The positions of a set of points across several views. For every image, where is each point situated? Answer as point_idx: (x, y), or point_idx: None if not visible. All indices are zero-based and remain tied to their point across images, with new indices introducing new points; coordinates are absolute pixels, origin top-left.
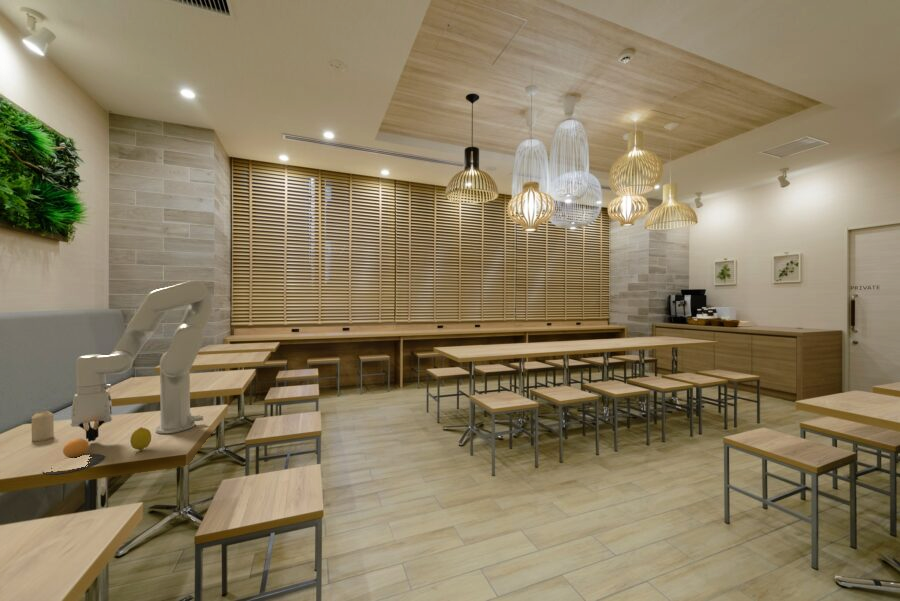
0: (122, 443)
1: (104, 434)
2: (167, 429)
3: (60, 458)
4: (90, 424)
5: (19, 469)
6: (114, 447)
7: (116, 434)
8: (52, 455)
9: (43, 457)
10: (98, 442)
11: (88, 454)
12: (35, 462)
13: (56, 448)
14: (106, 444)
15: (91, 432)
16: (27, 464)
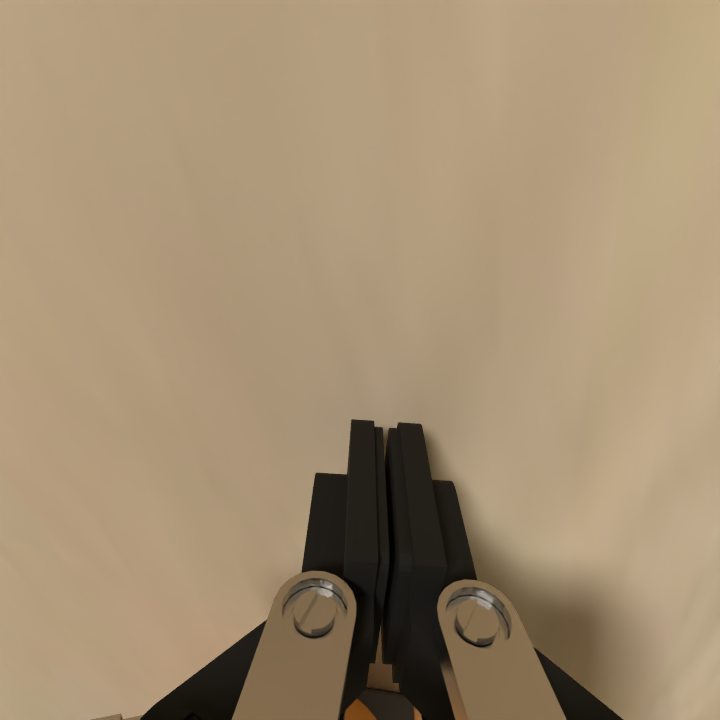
0: (641, 590)
1: (506, 9)
2: None
3: (208, 662)
4: (344, 672)
5: (22, 709)
6: (566, 644)
7: (672, 174)
8: (102, 575)
9: (46, 584)
10: (437, 432)
11: (392, 700)
12: (51, 651)
13: (12, 384)
14: (513, 542)
15: (382, 633)
16: (13, 660)
